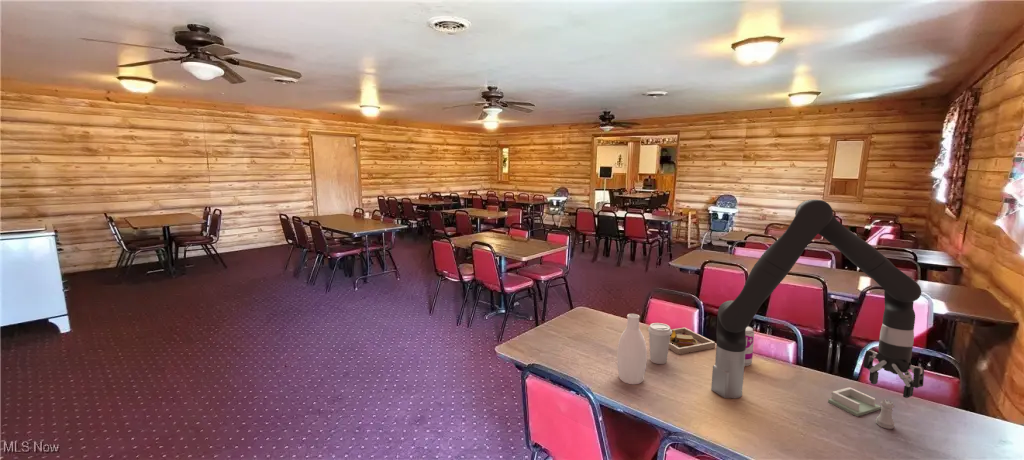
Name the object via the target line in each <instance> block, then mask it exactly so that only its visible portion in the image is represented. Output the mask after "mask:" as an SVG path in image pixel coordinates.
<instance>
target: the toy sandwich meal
mask: <svg viewBox="0 0 1024 460" xmlns="http://www.w3.org/2000/svg"><path fill="white" fill-rule="evenodd" d="M670 343H673V344H675V346H677V345H678V346H677V347H680V346H681V347H687V346H692V345H697V344H699V343H698V340H697V339H695V338H693V337H692V336H690V335H687V334H684V333H683V334H676V333H675V330H673V332H672V335H671V336H670ZM681 347H680V348H681Z"/></svg>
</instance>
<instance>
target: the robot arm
mask: <svg viewBox="0 0 1024 460" xmlns="http://www.w3.org/2000/svg"><path fill="white" fill-rule="evenodd" d="M794 214H795V216H794V218H793V219H792V220H791V222H790V224H789V226H788V227H787V228H786V230H785V231H784V233H783V234H782V235H781V236H780V237H779V238H778V239H776V240H775V241H774V242H772V244H771V245H770V246H769V247H768V248H767V249H766V250H765V251H764V252H763V254H762V255H761V256H760V258H758V260H757V261H756V263H755V264H754V265H753V267H752V268H751V270H750V272H749V275H748V276H747V279H746V281H745V283H744V286H743V288H742V290H741V291H740V293H739V294H738V295H737V296H736V298H735V299H734V300H726V301H724V302H722V303H721V304H720V305H719V307H718V309H717V319H716V344H715V363H714V365H712V373H711V388H710V389H711V391H713V392H714V393H716V394H717V395H719V396H720V397H722V398H723V399H727V398H728V399H739V398H741V397H742V395H743V386H744V373H745V366H744V363H745V351H746V334H745V331H746V328H747V327H748V326H750V324H751V322H752V320H753V319H754V317H755V316H756V314H757V313H758V310H759V309H760V308H761V307H762V305H763V303H764V302H765V301H766V300H767V299H768V298H769V296H771V294H772V293H773V292H774V290H776V289H777V288H778V286H779V285H780V284H781V283H782V282H783V280H784V279H785V278H786V277H787V275H788V274H789V273H790V271H791V270H792V268H793V267H794V266H795V264H796V263H797V261H798V260H799V259H800V257H801V255H802V254H803V253H804V250H806V249H807V247H808V246H809V244H810V243H811V242H812V240H814V239H815V238H816V236H818V235H819V236H820V237H823V238H824V239H825V240H826V241H828V242H829V243H830V244H832V246H834V247H835V248H836V249H837V250H838V251H839V252H840V254H843V256H844V257H846V258H847V259H848V260H849V261H850V262H851V263H852V264H853V265H855V266H856V267H857V268H858V269H859V270H861V271H862V272H863V273H864V274H865V275H867V276H868V277H869V278H871V279H873V281H875V282H876V283H877V284H878V285H879V287H880V288H881V289H883V290H884V292H883V294H884V295H883V296H884V298H883V299H884V311H883V314H882V322H881V324H882V325H881V328H880V331H879V340H878V346H877V347H878V348H877V350H878V352H877V351H875V350H874V349H869V350H866V351H865V354H864V358H863V359H864V360H863V365H862V366H863V368H865V369H867V370H868V371H869V379H868V380H869V382H870V384H872V385H876V384H878V382H879V371H881V370H882V369H884V371H886V372H890V373H892V374H894V375H897V376H898V378H899V379H901V380H902V381H903V383H904V385H903V393H902V394H903V395H902V397H903V398H905V399H908V398H911V397H913V395H914V388H915V389H918V388H921V387H923V386H924V381H925V380H924V379H925V368H924V367H923V366H917V365H916V366H915V365H914V364H913V365H912V363H911V361H912V360H911V359H912V355H913V349H914V343H915V341H914V340H915V339H914V338H915V332H914V331H915V324H916V313H915V310H914V302H915V301H917V300H918V299H920V298H921V296H922V288H921V286H920V284H919V283H918V282H917V281H915V280H914V279H913V278H912V277H911V276H908V275H907V274H906V273H904V272H903V271H902V270H900V268H898V267H896V266H895V264H893V262H892V261H890V259H888V258H887V257H886V256H885V255H883V253H881V252H880V251H879V250H877V248H875V247H873V245H871V244H870V243H868V242H867V241H865V240H864V239H862V238H861V237H859V236H858V235H857V234H855V233H854V232H852V231H851V230H850V229H848V228H847V227H845V225H843V224H842V222H840V220H838V219H837V218H836V217H835V215H834V213H833V207H832V206H831V205H830V204H829V203H828V202H827V201H824V200H821V199H809V200H808V199H807V200H804V201H802V202H801V203H799V204H798V205H797V207H796V209H795V213H794ZM875 358H876V359H877V360H878V363H876V364H875V365H873V364H874V360H875ZM909 370H911V373H910V371H909ZM912 374H913V377H912Z"/></svg>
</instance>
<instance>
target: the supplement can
mask: <svg viewBox="0 0 1024 460" xmlns="http://www.w3.org/2000/svg"><path fill="white" fill-rule="evenodd" d="M745 334H746V351H745V363H744V367H748V366H750V365H752V363H753V355H754V343H755V331H754V328H753V327H751V326H750V325H748V327H747V328H746V331H745Z"/></svg>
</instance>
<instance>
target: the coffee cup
mask: <svg viewBox="0 0 1024 460" xmlns="http://www.w3.org/2000/svg"><path fill="white" fill-rule="evenodd" d="M671 330H672V329H671V326H670V325H668V324H666V323H661V322H653V323H650V325H649V326H648V328H647V331H648V337H649V360H650V361H651V362H652V363H654V364H658V365H665V364H666V363H667V362H668V354H669V342H670V335H671V334H672V331H671ZM670 343H671V342H670Z"/></svg>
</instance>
